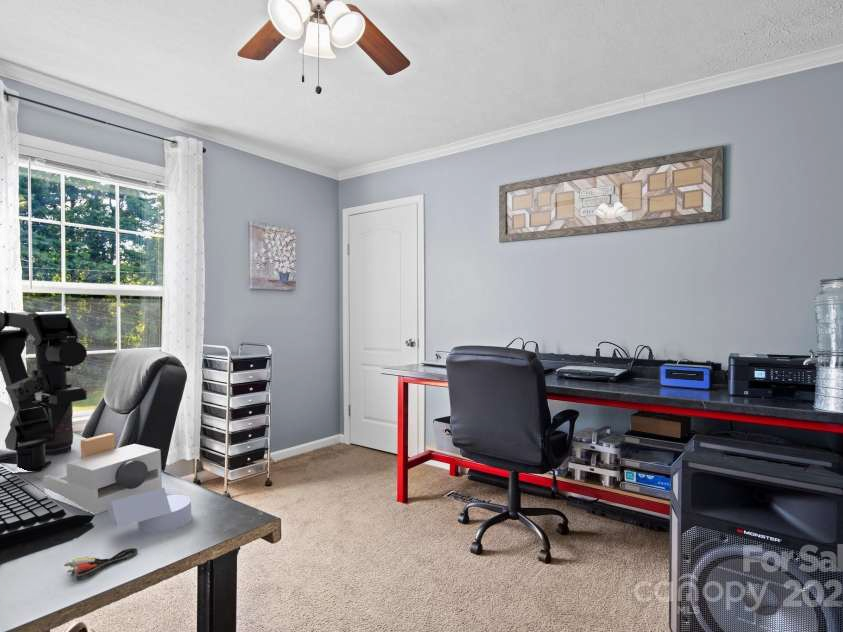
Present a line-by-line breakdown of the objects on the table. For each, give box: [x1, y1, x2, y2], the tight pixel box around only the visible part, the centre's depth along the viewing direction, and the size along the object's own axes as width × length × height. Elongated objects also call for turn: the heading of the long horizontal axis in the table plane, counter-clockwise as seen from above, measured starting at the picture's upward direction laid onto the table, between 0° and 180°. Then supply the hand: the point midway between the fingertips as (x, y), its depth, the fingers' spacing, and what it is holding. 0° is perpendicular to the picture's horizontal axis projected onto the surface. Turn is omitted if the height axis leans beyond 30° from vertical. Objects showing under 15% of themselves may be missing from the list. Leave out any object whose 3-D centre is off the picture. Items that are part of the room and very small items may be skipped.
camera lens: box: [45, 402, 74, 457], centre depth 134 cm, size 8×8×15 cm
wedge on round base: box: [107, 487, 192, 534], centre depth 89 cm, size 9×7×13 cm
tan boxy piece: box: [80, 432, 117, 489], centre depth 104 cm, size 8×12×9 cm
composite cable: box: [63, 547, 138, 581], centre depth 76 cm, size 10×5×2 cm, turn 130°
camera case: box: [43, 443, 163, 516], centre depth 104 cm, size 22×14×9 cm, turn 61°
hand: (54, 428), depth 114 cm, fingers closed
